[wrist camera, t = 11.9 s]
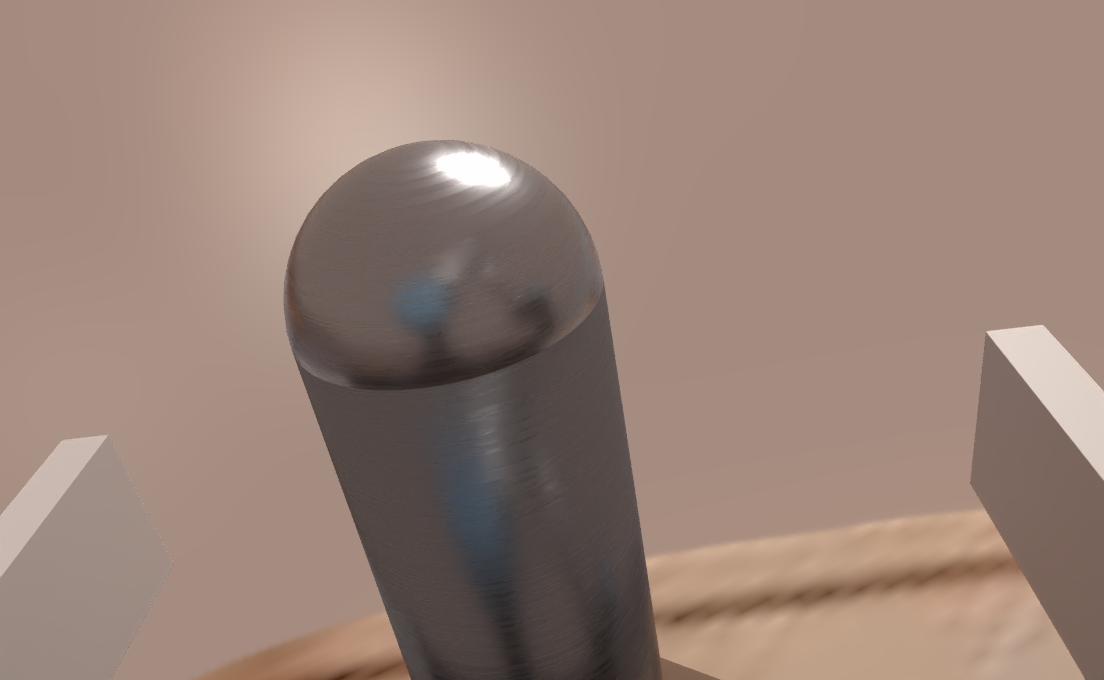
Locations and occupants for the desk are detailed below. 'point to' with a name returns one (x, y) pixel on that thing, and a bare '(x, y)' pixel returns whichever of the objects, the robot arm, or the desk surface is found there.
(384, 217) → the round-tipped metal rod
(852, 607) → the desk surface
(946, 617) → the desk surface
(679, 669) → the bead
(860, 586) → the desk surface
